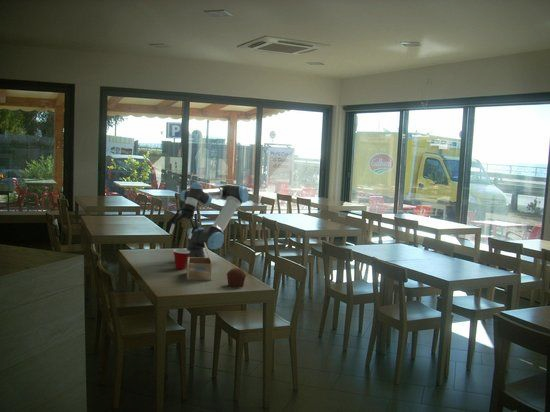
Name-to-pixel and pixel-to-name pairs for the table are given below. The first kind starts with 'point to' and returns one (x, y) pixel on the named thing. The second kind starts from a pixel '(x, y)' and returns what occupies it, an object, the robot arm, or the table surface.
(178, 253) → the plastic cup
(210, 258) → the flap
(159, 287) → the table surface
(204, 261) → the light wood open box
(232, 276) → the muffin
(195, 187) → the robot arm
